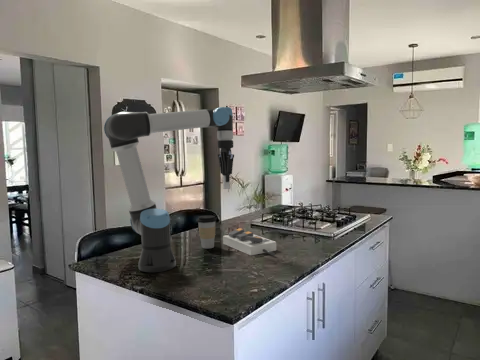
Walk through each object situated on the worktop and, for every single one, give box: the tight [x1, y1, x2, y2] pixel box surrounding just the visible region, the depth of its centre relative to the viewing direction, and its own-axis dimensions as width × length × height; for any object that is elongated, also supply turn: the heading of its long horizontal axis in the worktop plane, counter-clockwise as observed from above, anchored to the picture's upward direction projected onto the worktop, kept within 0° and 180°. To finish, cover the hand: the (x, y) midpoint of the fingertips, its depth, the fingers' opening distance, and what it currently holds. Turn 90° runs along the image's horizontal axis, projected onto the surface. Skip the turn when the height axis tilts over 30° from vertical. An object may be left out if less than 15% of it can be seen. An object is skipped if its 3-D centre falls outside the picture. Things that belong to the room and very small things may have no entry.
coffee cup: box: [197, 214, 217, 250], centre depth 190 cm, size 9×9×15 cm
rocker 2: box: [236, 230, 254, 240], centre depth 187 cm, size 7×4×2 cm, turn 121°
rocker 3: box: [245, 236, 263, 242], centre depth 180 cm, size 7×4×2 cm, turn 121°
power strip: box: [222, 231, 277, 256], centre depth 185 cm, size 14×34×5 cm, turn 31°
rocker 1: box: [227, 227, 246, 237], centre depth 194 cm, size 7×4×2 cm, turn 121°
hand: (226, 188), depth 189 cm, fingers closed
